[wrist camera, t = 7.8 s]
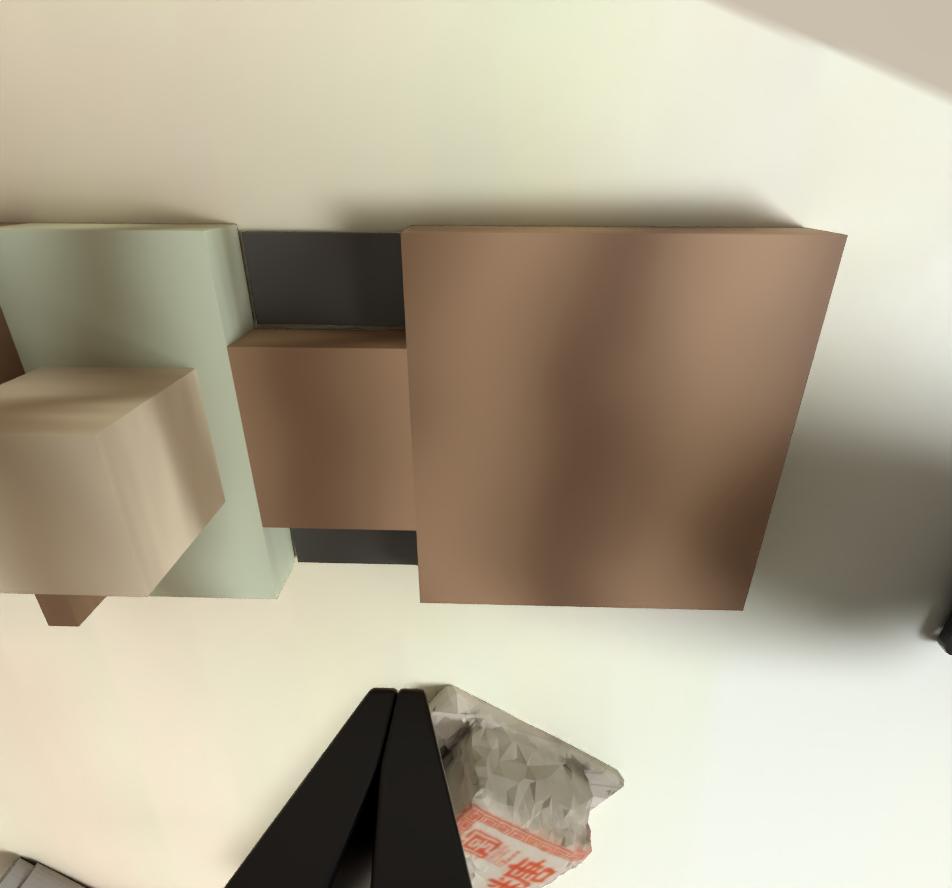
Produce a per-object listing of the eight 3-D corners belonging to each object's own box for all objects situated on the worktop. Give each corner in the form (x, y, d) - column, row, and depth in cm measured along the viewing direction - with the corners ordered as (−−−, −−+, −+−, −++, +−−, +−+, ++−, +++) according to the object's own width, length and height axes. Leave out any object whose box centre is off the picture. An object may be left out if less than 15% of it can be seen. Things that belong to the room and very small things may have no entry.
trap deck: (806, 227, 15) (885, 242, 12) (721, 572, 21) (761, 644, 18) (-4, 222, 16) (-125, 235, 13) (114, 558, 21) (48, 625, 18)
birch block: (195, 368, 16) (94, 435, 12) (225, 501, 18) (147, 596, 14) (42, 366, 16) (-108, 431, 12) (89, 498, 18) (-28, 592, 14)
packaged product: (435, 778, 20) (646, 875, 22) (445, 669, 24) (621, 759, 26) (230, 969, 27) (408, 1028, 29) (267, 857, 31) (419, 916, 33)
